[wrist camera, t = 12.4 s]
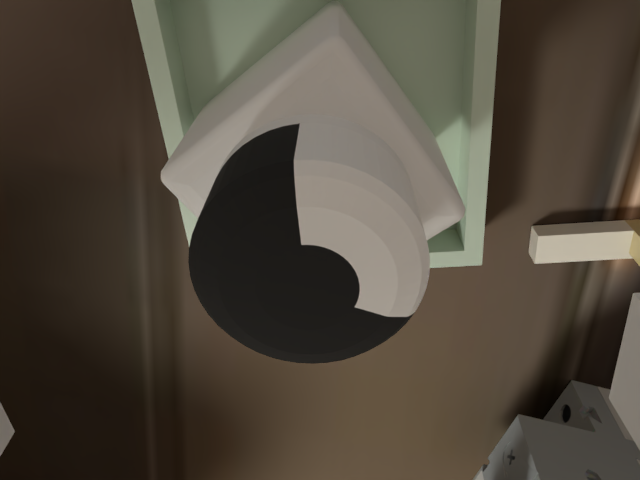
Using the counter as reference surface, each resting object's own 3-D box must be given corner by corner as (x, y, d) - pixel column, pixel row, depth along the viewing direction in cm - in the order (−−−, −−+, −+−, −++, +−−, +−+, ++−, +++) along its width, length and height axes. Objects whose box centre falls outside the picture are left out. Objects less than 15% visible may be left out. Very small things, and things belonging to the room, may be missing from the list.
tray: (207, 252, 28) (197, 281, 26) (146, -34, 22) (125, -27, 19) (470, 236, 27) (481, 265, 25) (487, -66, 21) (505, -62, 19)
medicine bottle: (306, 226, 26) (287, 432, 16) (199, 107, 24) (94, 264, 13) (437, 138, 24) (513, 313, 14) (336, -6, 21) (336, 79, 11)
